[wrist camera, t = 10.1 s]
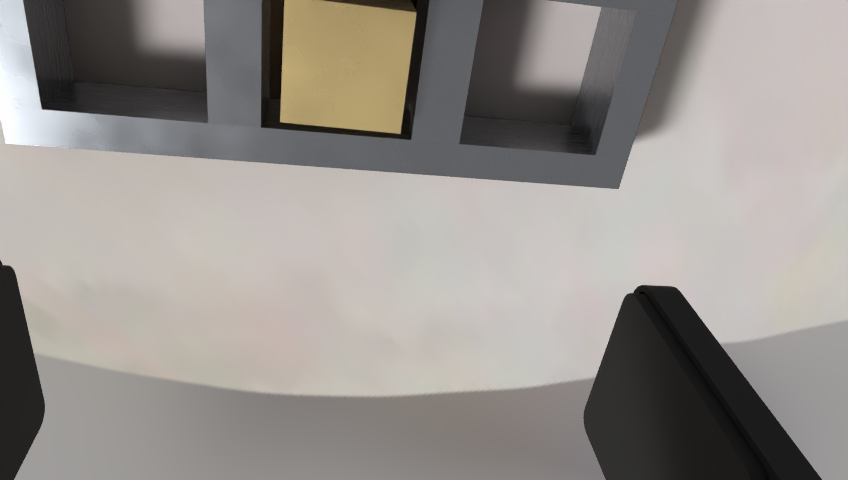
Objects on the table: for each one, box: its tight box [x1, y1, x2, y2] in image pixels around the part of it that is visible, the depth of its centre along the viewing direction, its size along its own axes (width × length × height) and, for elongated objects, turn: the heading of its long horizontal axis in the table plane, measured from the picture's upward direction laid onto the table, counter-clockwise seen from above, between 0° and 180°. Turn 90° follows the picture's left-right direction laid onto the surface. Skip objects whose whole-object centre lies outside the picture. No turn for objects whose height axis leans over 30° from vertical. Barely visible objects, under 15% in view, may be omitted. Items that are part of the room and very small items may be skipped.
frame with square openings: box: [0, 0, 678, 189], centre depth 26 cm, size 9×25×4 cm, turn 82°
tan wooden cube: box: [280, 0, 417, 134], centre depth 26 cm, size 5×5×5 cm
